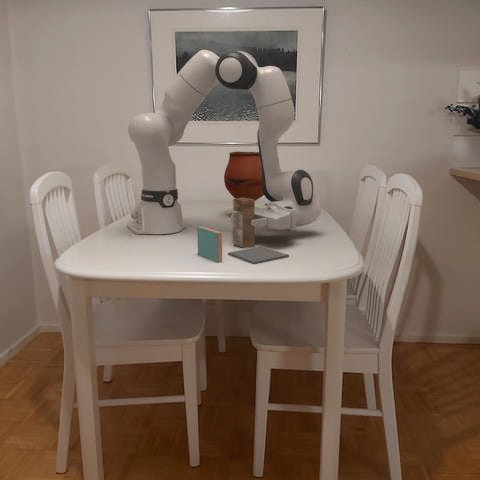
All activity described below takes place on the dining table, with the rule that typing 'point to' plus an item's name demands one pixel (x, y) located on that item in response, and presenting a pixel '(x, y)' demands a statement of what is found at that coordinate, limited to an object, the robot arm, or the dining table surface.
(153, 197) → the robot arm
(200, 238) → the tile
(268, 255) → the rest mat
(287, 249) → the dining table surface
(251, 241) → the tall wooden block
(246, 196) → the goblet
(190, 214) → the dining table surface
